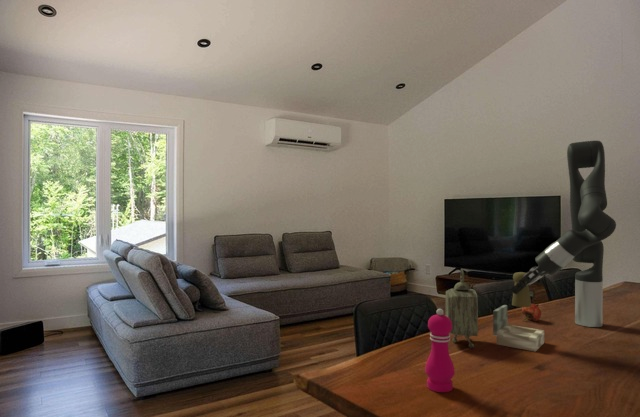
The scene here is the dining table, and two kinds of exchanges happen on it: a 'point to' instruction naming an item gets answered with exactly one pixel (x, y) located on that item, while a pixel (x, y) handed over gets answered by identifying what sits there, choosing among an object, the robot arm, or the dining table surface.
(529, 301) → the cork
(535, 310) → the pomegranate
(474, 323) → the tabletop clock
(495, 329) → the stand
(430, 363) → the pepper mill
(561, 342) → the dining table surface
